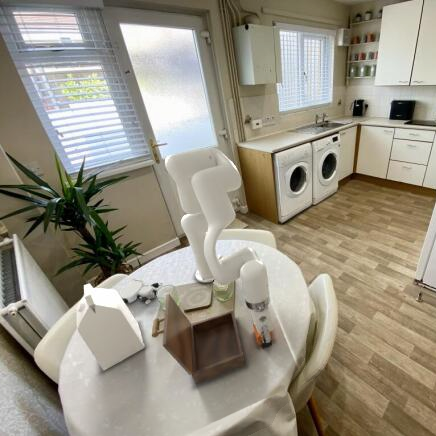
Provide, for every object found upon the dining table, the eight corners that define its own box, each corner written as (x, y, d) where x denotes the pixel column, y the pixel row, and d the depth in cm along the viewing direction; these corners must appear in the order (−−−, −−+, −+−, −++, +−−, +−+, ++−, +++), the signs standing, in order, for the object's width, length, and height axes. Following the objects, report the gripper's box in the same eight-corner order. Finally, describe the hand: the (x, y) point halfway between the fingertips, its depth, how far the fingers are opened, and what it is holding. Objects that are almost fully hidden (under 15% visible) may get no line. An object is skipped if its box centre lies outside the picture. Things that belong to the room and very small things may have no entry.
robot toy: (166, 286, 106) (132, 284, 106) (163, 279, 103) (129, 277, 104) (150, 309, 95) (113, 307, 95) (147, 301, 93) (109, 299, 93)
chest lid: (169, 293, 73) (152, 300, 72) (165, 344, 58) (144, 353, 57) (190, 323, 81) (175, 330, 80) (192, 373, 67) (174, 383, 66)
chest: (235, 320, 88) (233, 310, 86) (245, 365, 74) (243, 355, 71) (193, 334, 84) (190, 324, 81) (196, 385, 69) (191, 375, 67)
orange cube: (268, 329, 84) (267, 319, 82) (273, 341, 80) (271, 331, 78) (255, 334, 83) (253, 324, 80) (258, 346, 79) (257, 337, 76)
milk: (144, 347, 80) (112, 291, 67) (103, 370, 74) (60, 314, 61) (138, 323, 89) (108, 270, 76) (100, 342, 82) (61, 288, 70)
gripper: (278, 316, 67) (282, 352, 75) (261, 276, 81) (266, 310, 89) (252, 325, 64) (258, 362, 73) (239, 282, 78) (246, 317, 87)
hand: (263, 333), depth 81 cm, fingers open, 9 cm apart
